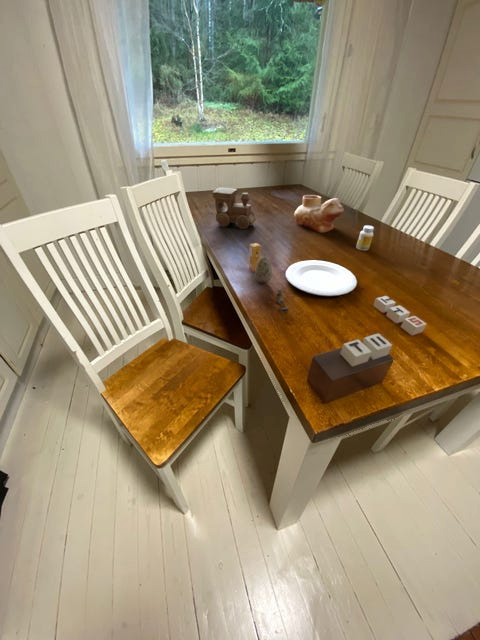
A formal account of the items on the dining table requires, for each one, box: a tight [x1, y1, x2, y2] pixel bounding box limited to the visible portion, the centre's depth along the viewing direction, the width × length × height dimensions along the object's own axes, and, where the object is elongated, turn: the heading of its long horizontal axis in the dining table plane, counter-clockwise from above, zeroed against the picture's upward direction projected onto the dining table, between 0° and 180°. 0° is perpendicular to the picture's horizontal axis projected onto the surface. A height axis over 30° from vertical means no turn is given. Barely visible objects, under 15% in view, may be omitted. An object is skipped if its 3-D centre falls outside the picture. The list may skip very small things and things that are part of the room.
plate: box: [285, 259, 358, 297], centre depth 98 cm, size 25×25×2 cm
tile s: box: [400, 315, 427, 336], centre depth 77 cm, size 4×4×3 cm
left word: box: [340, 332, 393, 367], centre depth 58 cm, size 4×10×3 cm, turn 111°
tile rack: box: [306, 340, 395, 405], centre depth 61 cm, size 7×16×8 cm, turn 111°
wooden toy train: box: [212, 187, 257, 230], centre depth 138 cm, size 20×11×17 cm, turn 72°
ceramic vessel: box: [293, 194, 345, 234], centre depth 138 cm, size 14×26×15 cm, turn 41°
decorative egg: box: [254, 256, 273, 284], centre depth 94 cm, size 6×6×10 cm
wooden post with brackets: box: [275, 288, 289, 313], centre depth 86 cm, size 2×8×4 cm, turn 10°
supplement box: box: [248, 242, 262, 273], centre depth 102 cm, size 3×4×10 cm
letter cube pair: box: [372, 295, 411, 324], centre depth 83 cm, size 10×4×3 cm, turn 21°
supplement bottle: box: [355, 224, 375, 252], centre depth 118 cm, size 5×5×10 cm
